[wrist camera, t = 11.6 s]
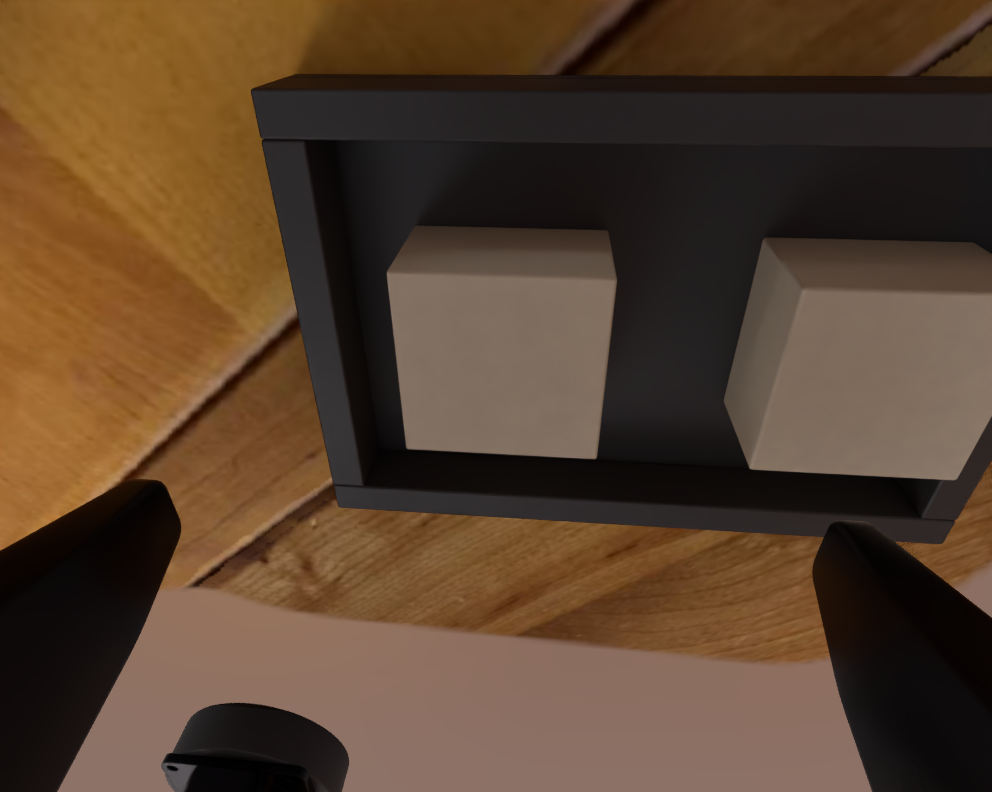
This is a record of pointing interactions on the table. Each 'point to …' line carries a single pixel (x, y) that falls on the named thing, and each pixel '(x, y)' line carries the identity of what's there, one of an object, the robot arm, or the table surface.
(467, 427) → the loose pad
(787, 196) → the tray
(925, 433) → the pad
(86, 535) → the robot arm
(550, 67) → the table surface
